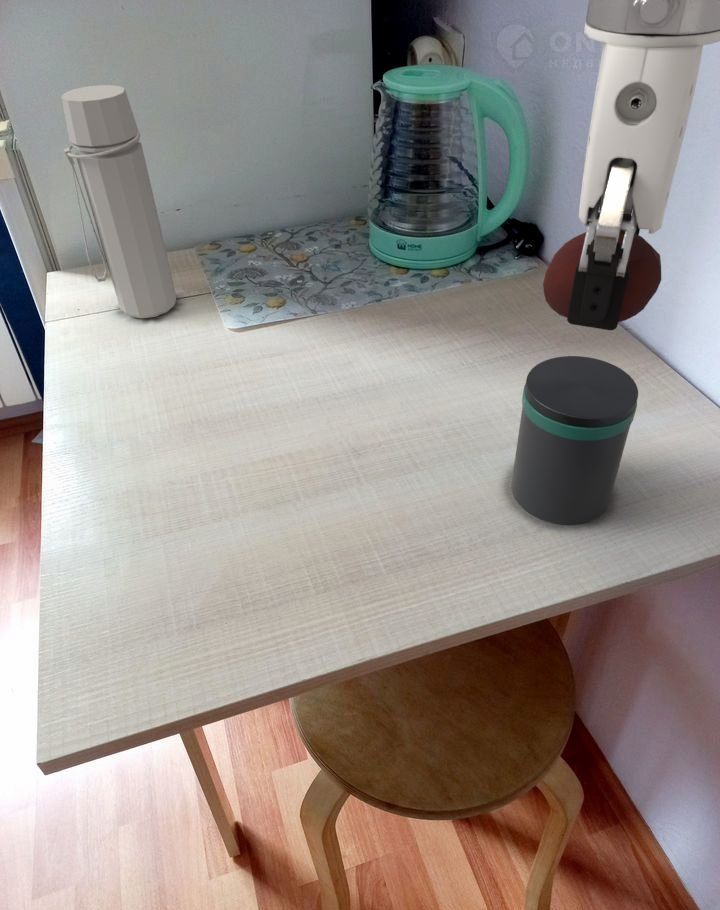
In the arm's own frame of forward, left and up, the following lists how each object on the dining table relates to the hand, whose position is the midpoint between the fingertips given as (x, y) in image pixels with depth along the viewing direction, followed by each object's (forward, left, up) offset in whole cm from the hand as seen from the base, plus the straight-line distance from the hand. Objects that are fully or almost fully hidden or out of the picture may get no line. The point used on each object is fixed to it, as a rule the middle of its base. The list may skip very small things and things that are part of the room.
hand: (600, 293), depth 50 cm
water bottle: (+55, -16, -19) cm, 60 cm away
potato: (0, 0, -2) cm, 2 cm away
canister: (0, 0, -19) cm, 19 cm away
